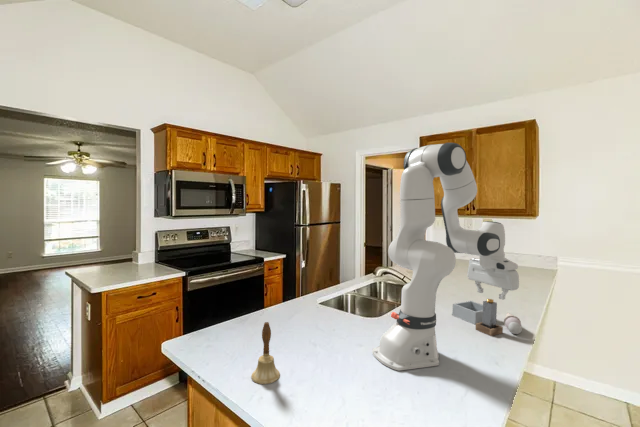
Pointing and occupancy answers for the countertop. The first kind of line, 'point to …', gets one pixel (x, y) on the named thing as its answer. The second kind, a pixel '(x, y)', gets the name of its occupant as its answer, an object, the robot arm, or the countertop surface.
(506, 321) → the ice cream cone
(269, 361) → the hand bell
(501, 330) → the socket ring
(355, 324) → the countertop surface
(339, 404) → the countertop surface
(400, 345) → the robot arm
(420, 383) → the countertop surface
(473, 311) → the tub
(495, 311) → the strut
